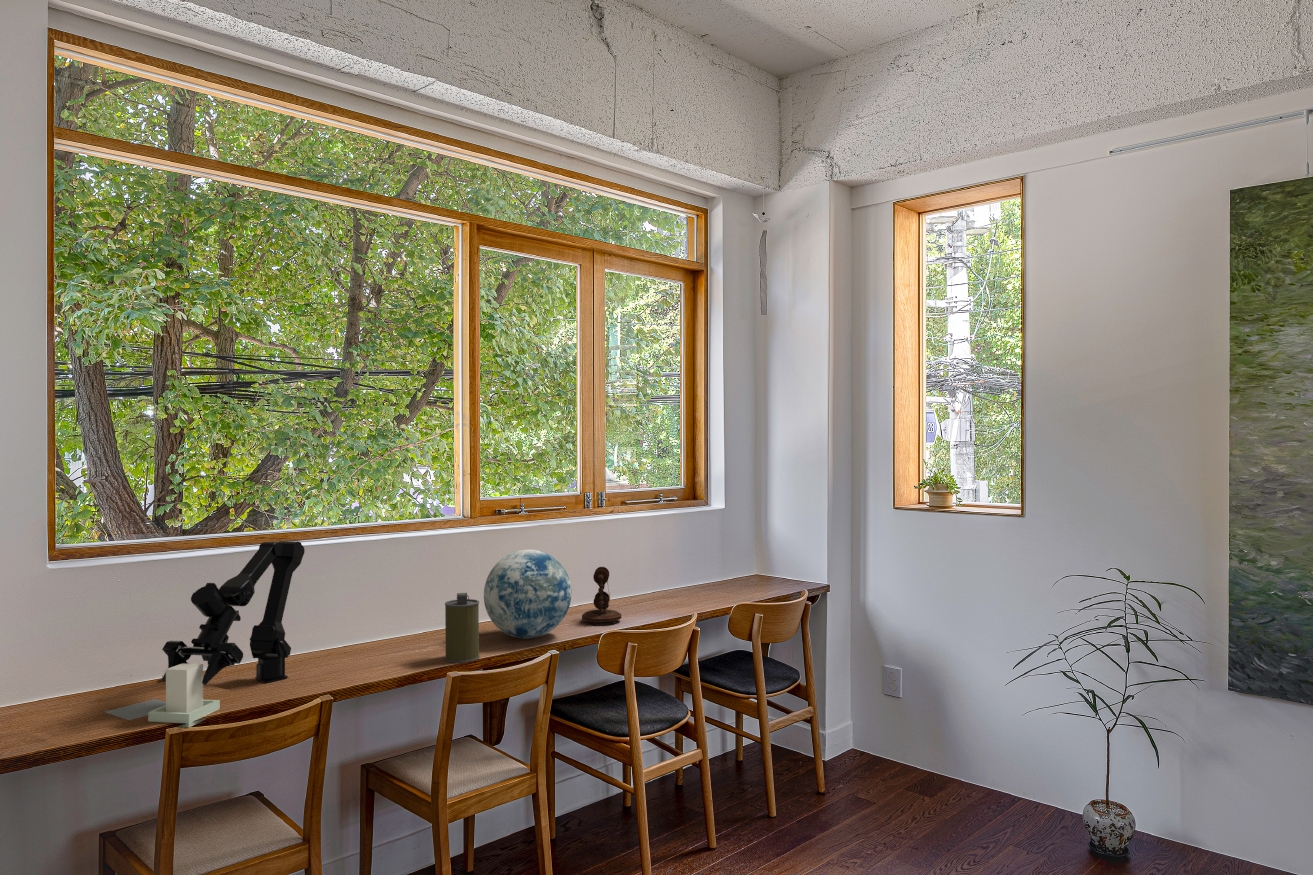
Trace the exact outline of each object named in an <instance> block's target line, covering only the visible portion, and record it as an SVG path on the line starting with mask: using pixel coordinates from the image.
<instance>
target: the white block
mask: <svg viewBox="0 0 1313 875" xmlns="http://www.w3.org/2000/svg"><path fill="white" fill-rule="evenodd" d="M165 672H166V680H165V681H166V683H165V702H166V712H178V713H189V712H192V711H194V710H196V709H198V708H200V707H203V699H204V685H203V684H202V681H203V677H204V664H203V663H189V662H187V663H182V664H179V665H176V666H174V667H171V668H168V667H167V668H165Z"/></svg>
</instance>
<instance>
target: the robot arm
mask: <svg viewBox="0 0 1313 875" xmlns="http://www.w3.org/2000/svg"><path fill="white" fill-rule="evenodd" d="M305 553H306V550H305V547H304V545H303V544H302V542H300V541H294V540H293V541H291V540H289V541H287V540H286V541H285V540H284V541H283V540H282V541H281V540H279V541H263V542H261V543H260V544H259V546H258V550H257V551H256V552H255V553H254V554H253V556H252V557H251V558H250V559H249V561H248V562H247V563H246V564H245V565H244V567H243V568H242V569H241V571H240V572H239V573H238V574H237V575H235V576H234V577H231V578H230V579H227V580H226V581H225V582H224V583H223V584H222V585H221V586H220V587H219V588H218V585H217V584H216V583H215V582H206V584H205V586H202V587H200V588H198V589H197V590H195V591H194V592H193V593H192V595H191V598H190V602H191V603H192V604H193V605H194V606H195V608H196V609H197V610H198V611H199V612H200V613H201V614H202V615H203V617H205V618H206V617H207V620H206V622H205V623H203V624H202V623H201V624H200V625H199V630H201V631H200V632H199V634H198V636H197V638H192V639H191V641H190V642H191V644H192V645H193V646H188V645H187V644H186V643H185V642H184V641H183V640H169V641H166V642H165V644H164V645H163V647H162V649H161V650H162V652H164V654H165V655H167V662H168V663H167V669H168V668H171V667H174V666H176V665H179V664H182V663H188V662H187V661H189V660H190V658H191V657H192V656H201V658H202V661H203V662H207V667H206V668H205V672H204V673H203V681H202V684H203V686H205V685H207V684H208V683H210V681H211V680H212V679H213V678H215V677H216V676H217V675H218V673H220V672H221V671H222V670H223V669H225V668H227V667H233V666H235V665H236V664H237V665H238V664H241V662H242V660H243V658H244V652H243V651H242V649H241V648H239V646H238V645H237V644H236V643H235V642H228V641H229V638H230V637H229V635H228V632H229V631H230V629H231V626H232V625H233V623H234V622H240V621H241V615H240V612H239V610H236V609H235V608H234V607H246V606H248V604H249V603H250V602H251V601H252V600H251V599H252V598H253V597H254V594H255V592H256V591H255V587H256V584H257V583H258V581H259V580H260V578H261V577H262V576H263V575H264V573H266V570H267V569H268V568H269V566H270V565H272V568H273V574H272V577H271V578H272V580H271V582H270V586H269V591H268V596H267V600H266V605H265V608H264V614H263V617H262V619H261V622H259V624H256V625H253V627H252V630H251V636H250V637H249V648H250V652H251V655H252V658H253V659H257V663H256V664H255V665H256V666H255V667H256V671H255V672H256V674H255V675H256V676H255V677H254V680H257V681H260V682H262V683H265V684H266V683H267V684H268V683H272V682H276V681H279V680H280V681H281V680H284V679H288V678H289V675H286V659H287V658H288V657H289V656H290V655H291V651H292V647H291V645H290V644H289V643H288V642H287V641H286V640H285V638H286V632H285V628H284V625H283V623H282V622H283V618H284V612H285V609H286V604H287V600H288V595H289V590H290V586H291V583H292V582H291V581H292V577H293V574H294V572H295V571H296V570H297V568H299V567H300V565H301V564H302V561H303V558H304V555H305Z"/></svg>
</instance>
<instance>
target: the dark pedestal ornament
mask: <svg viewBox="0 0 1313 875" xmlns="http://www.w3.org/2000/svg"><path fill="white" fill-rule="evenodd" d="M592 576H593V577H592V579H593V581H594V582H595V583H596V585H597V586H598V590H597V592H596V594H595V595H594V599H593V605H594V608H596V609H592V610H591V609H590V610H588V611H585V612H584V613H582V615H581V620H583V621H585V622H586V624H587V625H589V624H590V622H591V623H606V622H607V623H609V622H612V624H613V625H615V624H616V621H619V620H620V619H622V613H621V612H619V611H617V610H614V609H609V607H610V603H611V593H610V588H609V586H607V589H608V592H607V591H605V587H606V584H607V585H609V578H610V571H609V569H608V568H607V567H605V566H599V567H597V568H596V569H595V571H594V573H593V575H592Z"/></svg>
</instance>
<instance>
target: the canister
mask: <svg viewBox="0 0 1313 875" xmlns="http://www.w3.org/2000/svg"><path fill="white" fill-rule="evenodd" d="M479 604H480V601H479V600H478V599H473V598H470V597H469V595H468V593H467V592H458V593H457V594H456V599H451V600H448V601H447V600H446V601H445V603H444V606H445V612H444V613H445V616H444V617H445V618H444V619H445V657H444V661H446V662H448V663H453V664H459V663H460V664H461V663H462V664H463V663H465V664H466V663H471V662H474V660H475V661H477V660H478V659H480V652H479V650H480V644H479V643H480V642H479V641H480V638H479V635H480V634H479V633H480V632H479V628H480V625H479V614H480V613H479V612H480V611H479Z"/></svg>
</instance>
